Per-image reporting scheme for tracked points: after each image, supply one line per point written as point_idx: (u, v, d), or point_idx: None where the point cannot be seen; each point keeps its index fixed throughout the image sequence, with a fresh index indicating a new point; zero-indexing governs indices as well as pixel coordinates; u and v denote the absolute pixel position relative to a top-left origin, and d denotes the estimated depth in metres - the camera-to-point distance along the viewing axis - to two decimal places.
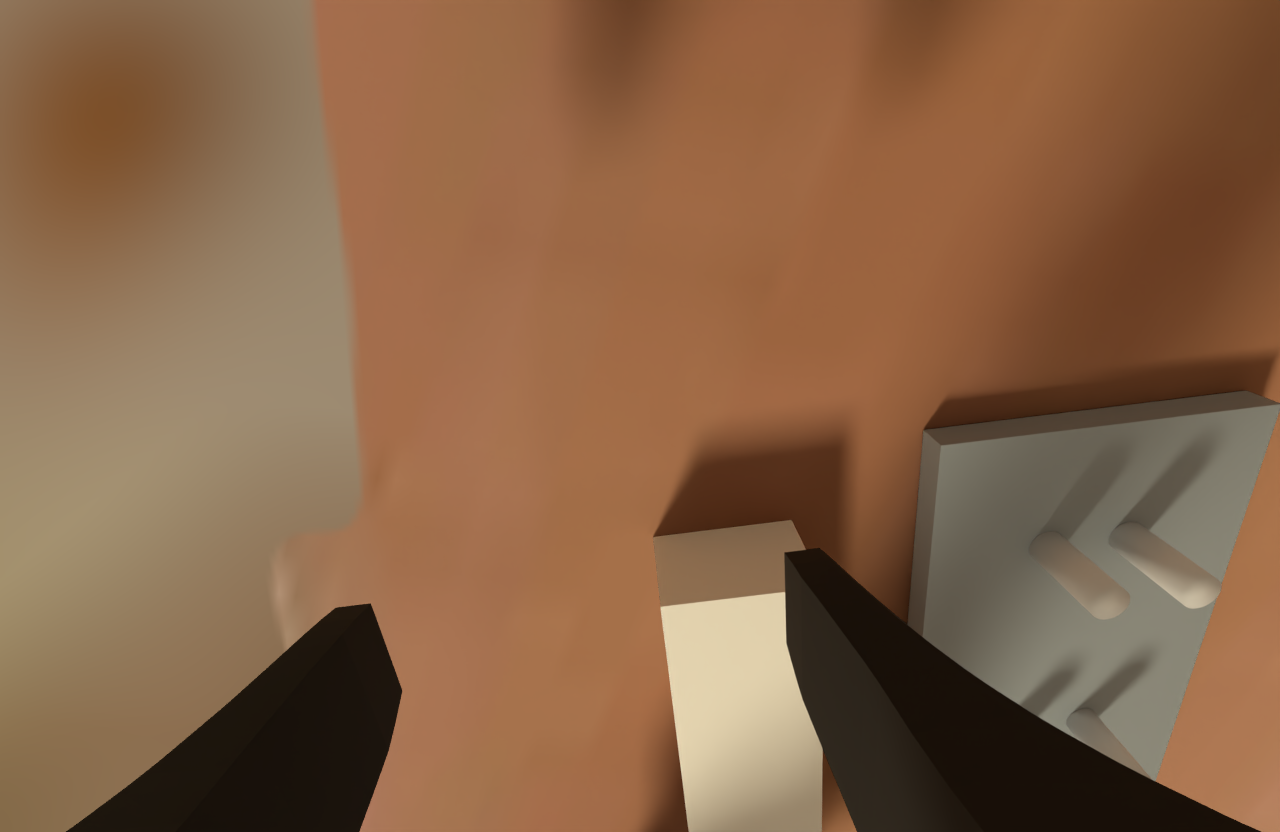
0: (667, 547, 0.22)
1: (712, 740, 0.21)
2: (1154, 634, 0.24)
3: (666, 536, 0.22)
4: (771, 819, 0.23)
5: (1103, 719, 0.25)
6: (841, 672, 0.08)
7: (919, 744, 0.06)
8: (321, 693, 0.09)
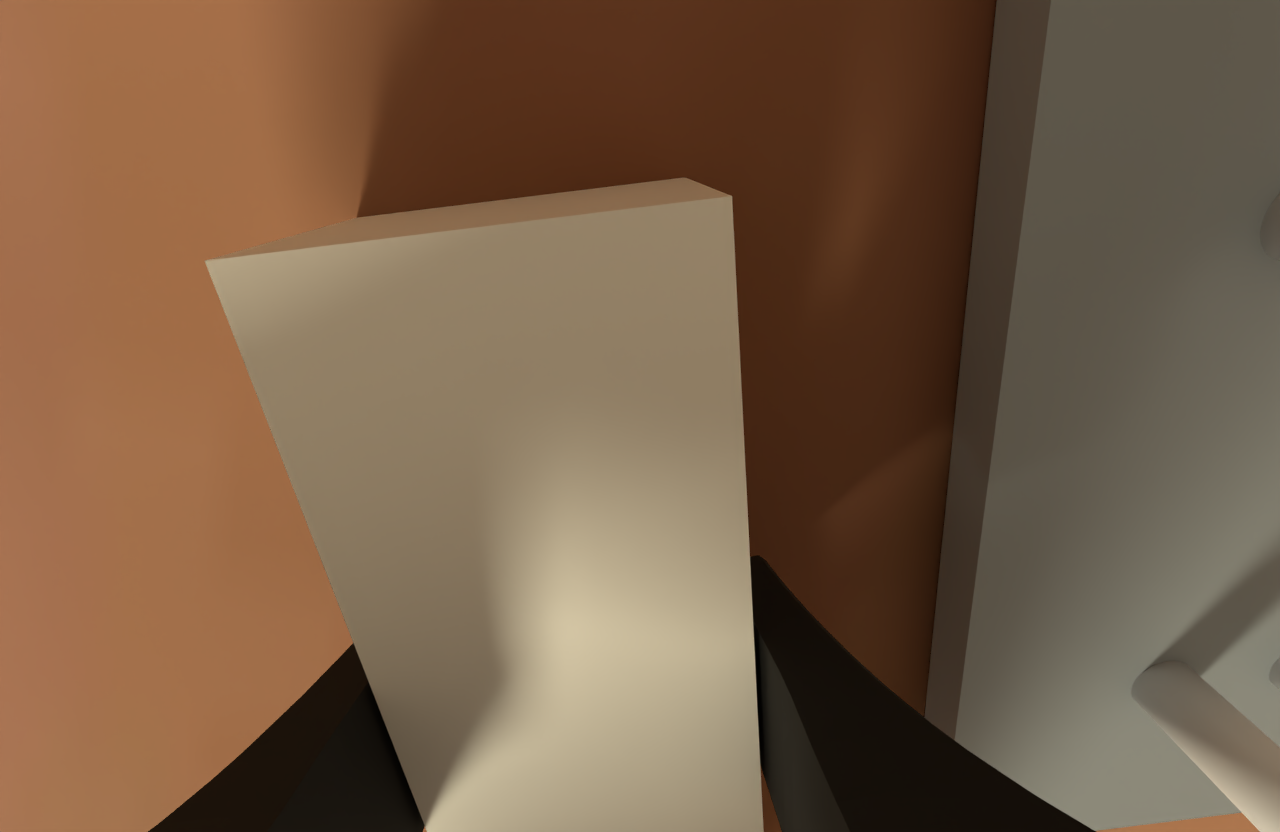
0: (368, 219, 0.09)
1: (472, 705, 0.08)
2: None
3: (383, 215, 0.09)
4: None
5: None
6: (765, 681, 0.08)
7: (818, 757, 0.06)
8: None
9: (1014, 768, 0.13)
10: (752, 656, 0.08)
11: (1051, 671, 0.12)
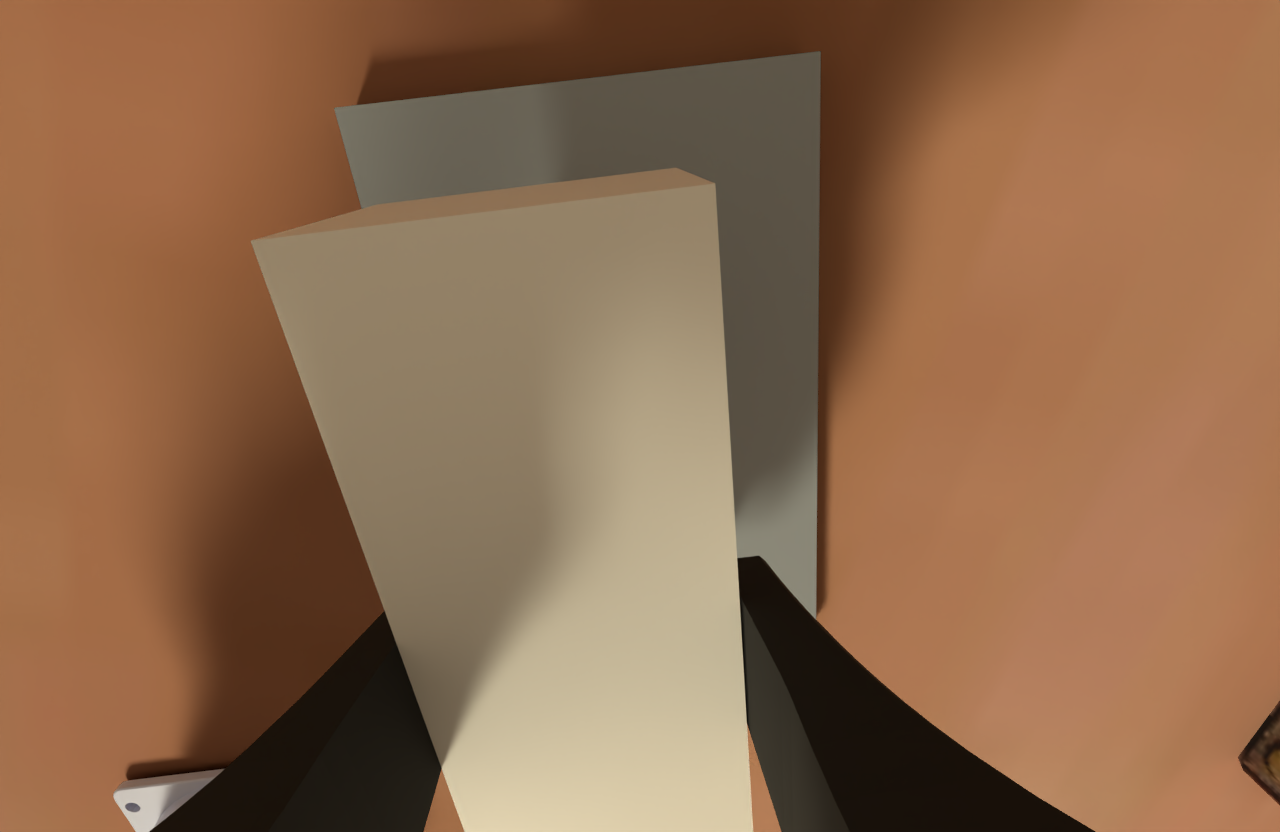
0: (385, 207, 0.09)
1: (483, 649, 0.09)
2: (748, 434, 0.18)
3: (398, 203, 0.10)
4: (646, 828, 0.11)
5: None
6: (765, 681, 0.08)
7: (817, 757, 0.06)
8: (392, 684, 0.09)
9: None
10: (737, 603, 0.09)
11: None
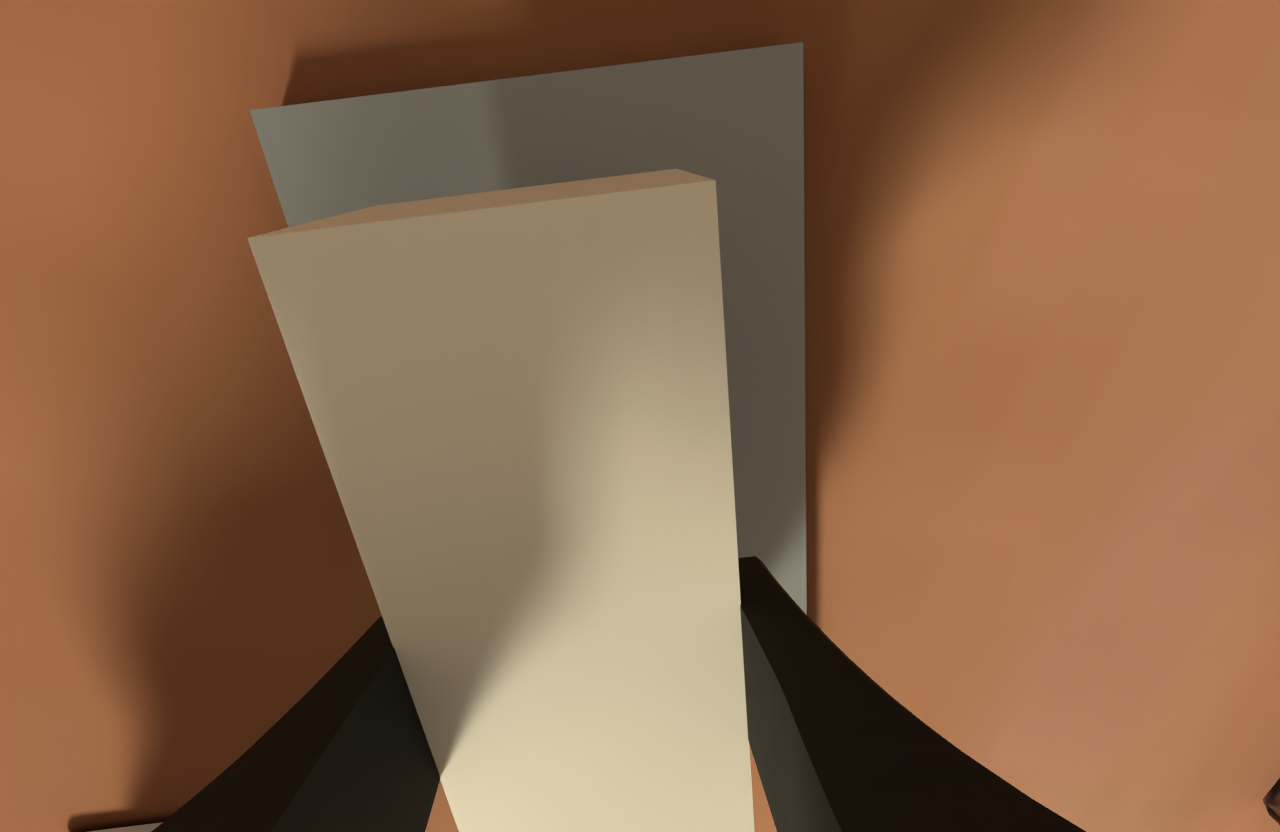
0: (385, 207, 0.09)
1: (481, 653, 0.09)
2: None
3: (397, 204, 0.10)
4: None
5: None
6: (761, 682, 0.08)
7: (811, 757, 0.06)
8: (394, 684, 0.09)
9: None
10: (738, 606, 0.09)
11: None
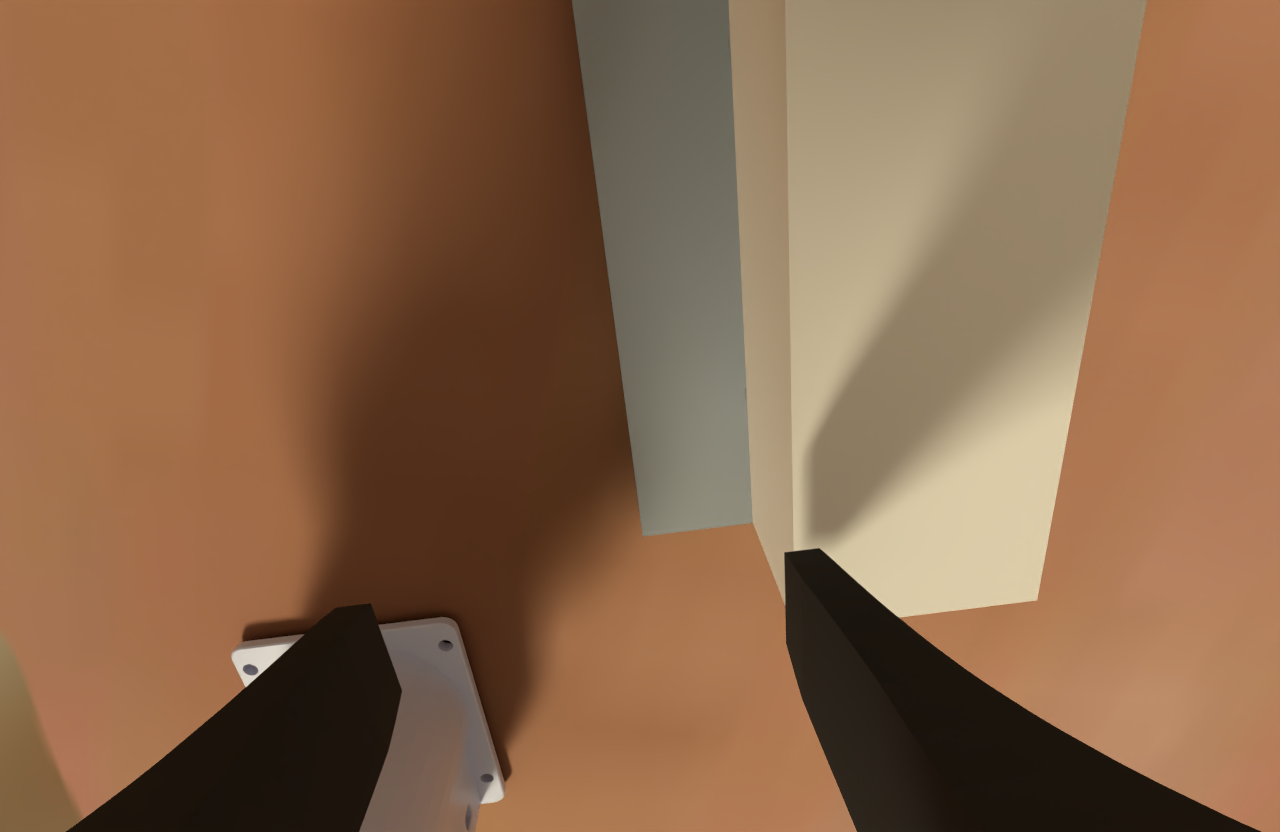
0: None
1: (866, 218, 0.09)
2: None
3: None
4: (961, 463, 0.11)
5: None
6: (841, 672, 0.08)
7: (919, 744, 0.06)
8: (321, 693, 0.09)
9: (678, 462, 0.19)
10: (1114, 168, 0.09)
11: (683, 378, 0.18)
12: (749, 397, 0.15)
